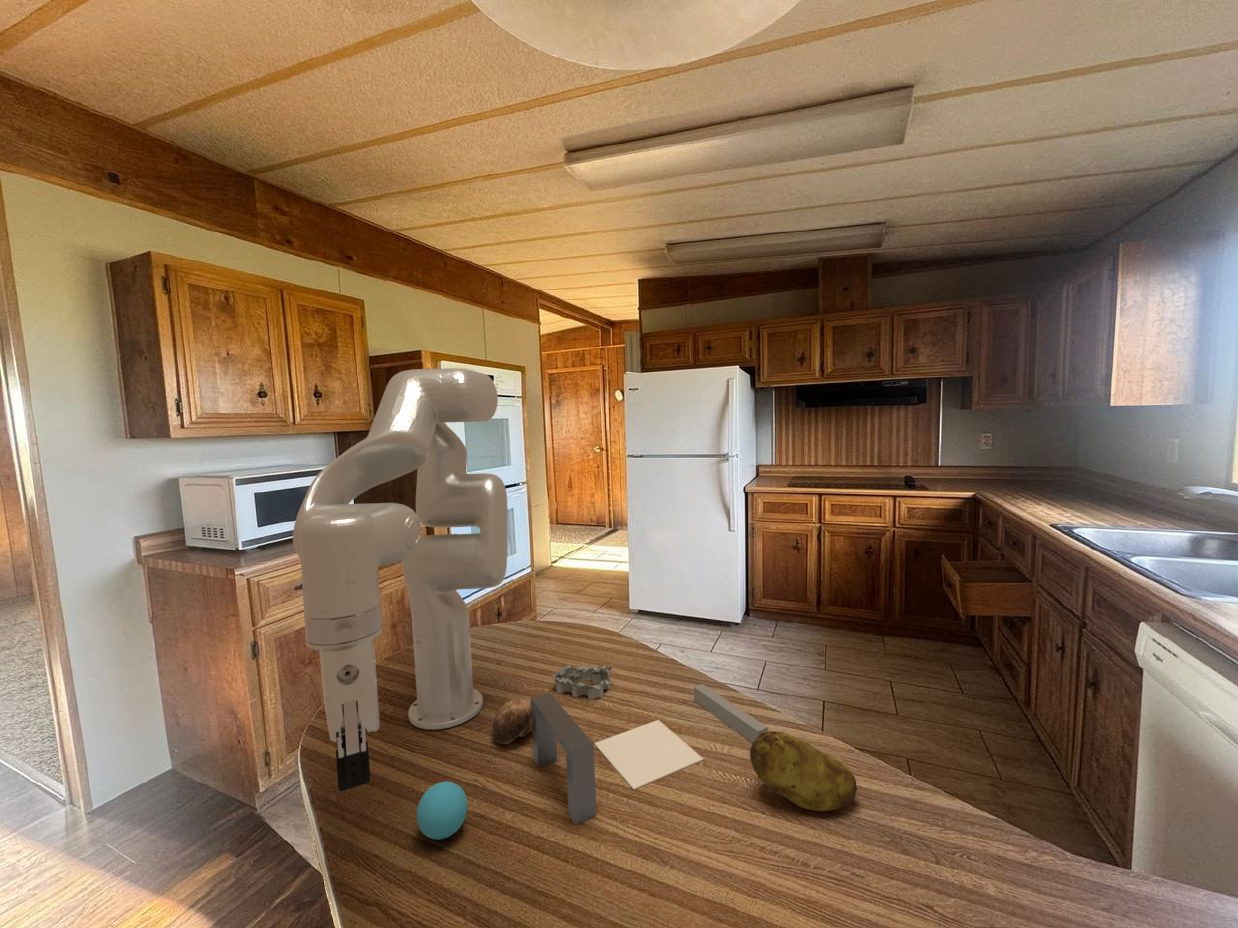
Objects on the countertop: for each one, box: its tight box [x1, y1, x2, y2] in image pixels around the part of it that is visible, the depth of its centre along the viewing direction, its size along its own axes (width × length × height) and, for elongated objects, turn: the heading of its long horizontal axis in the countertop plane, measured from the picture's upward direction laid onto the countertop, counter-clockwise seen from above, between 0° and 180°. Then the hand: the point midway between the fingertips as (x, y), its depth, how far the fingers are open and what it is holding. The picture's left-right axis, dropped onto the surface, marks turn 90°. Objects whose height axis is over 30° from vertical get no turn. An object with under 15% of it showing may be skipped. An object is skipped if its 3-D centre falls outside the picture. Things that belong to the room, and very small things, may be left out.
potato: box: [749, 730, 858, 812], centre depth 69 cm, size 8×13×8 cm, turn 58°
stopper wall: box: [693, 683, 769, 744], centre depth 88 cm, size 16×2×2 cm, turn 29°
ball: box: [416, 781, 468, 840], centre depth 65 cm, size 6×6×6 cm
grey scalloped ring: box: [551, 664, 613, 701], centre depth 100 cm, size 10×7×4 cm
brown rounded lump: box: [492, 697, 532, 745], centre depth 85 cm, size 8×8×6 cm
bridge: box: [530, 692, 597, 826], centre depth 73 cm, size 3×15×10 cm, turn 29°
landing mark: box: [594, 719, 704, 790], centre depth 80 cm, size 12×12×1 cm
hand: (354, 782), depth 59 cm, fingers closed
